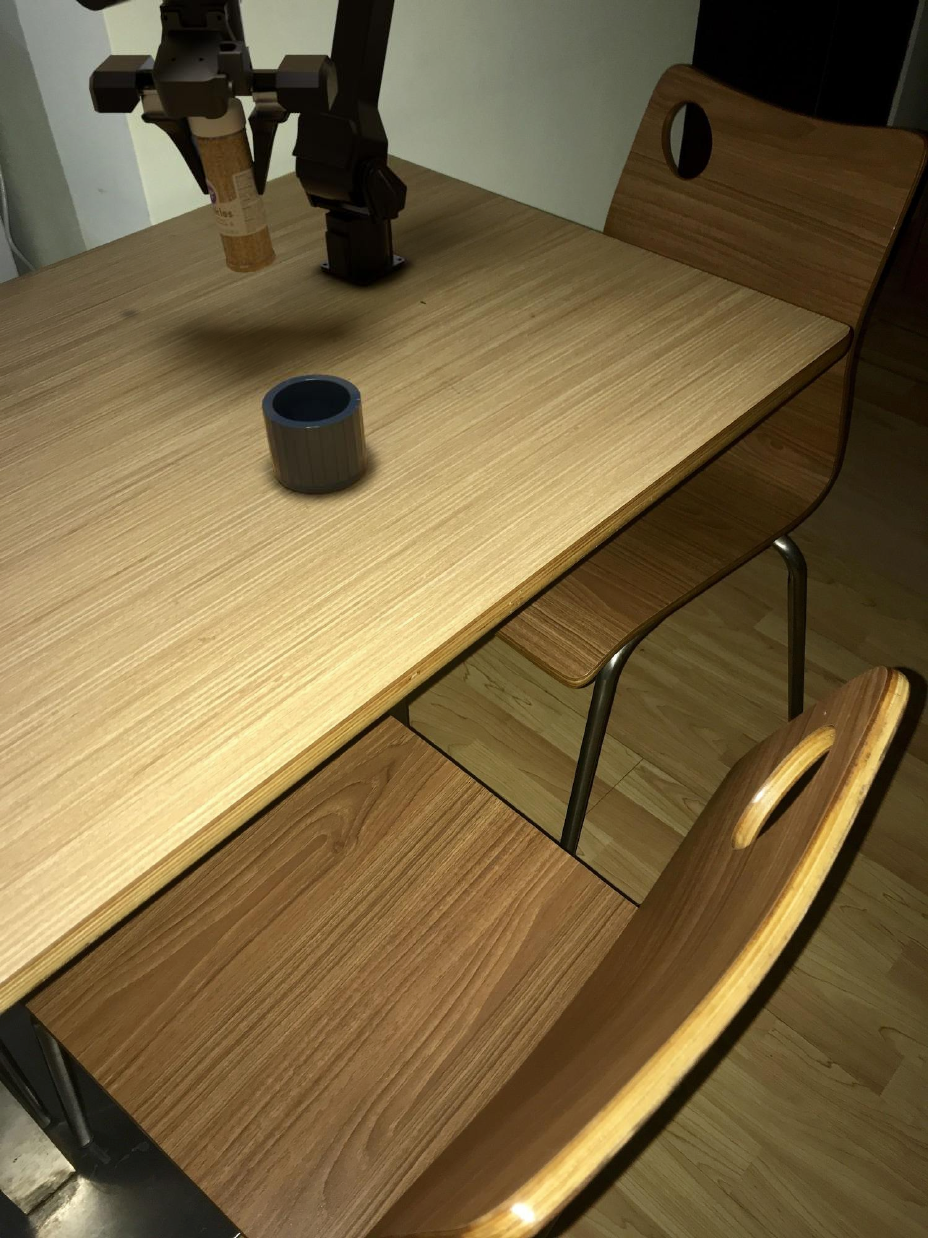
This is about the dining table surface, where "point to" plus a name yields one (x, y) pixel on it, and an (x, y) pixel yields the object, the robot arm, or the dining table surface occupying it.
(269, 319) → the dining table surface
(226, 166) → the sprinkles bottle
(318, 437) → the pot
